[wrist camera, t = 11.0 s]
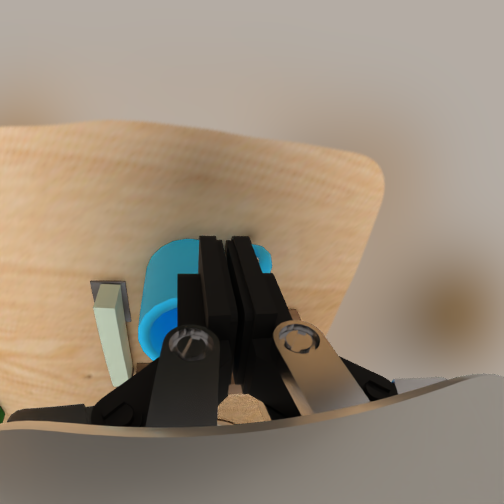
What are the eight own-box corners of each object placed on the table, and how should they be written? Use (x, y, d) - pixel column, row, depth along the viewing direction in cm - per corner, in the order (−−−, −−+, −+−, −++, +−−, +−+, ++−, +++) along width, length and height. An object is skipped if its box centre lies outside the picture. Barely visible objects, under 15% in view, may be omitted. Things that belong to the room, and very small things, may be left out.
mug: (182, 321, 32) (185, 383, 25) (128, 270, 28) (115, 331, 21) (280, 261, 31) (308, 317, 24) (235, 196, 26) (253, 242, 20)
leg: (132, 363, 33) (130, 387, 30) (116, 363, 33) (113, 386, 30) (120, 284, 28) (114, 308, 25) (100, 283, 27) (93, 307, 24)
